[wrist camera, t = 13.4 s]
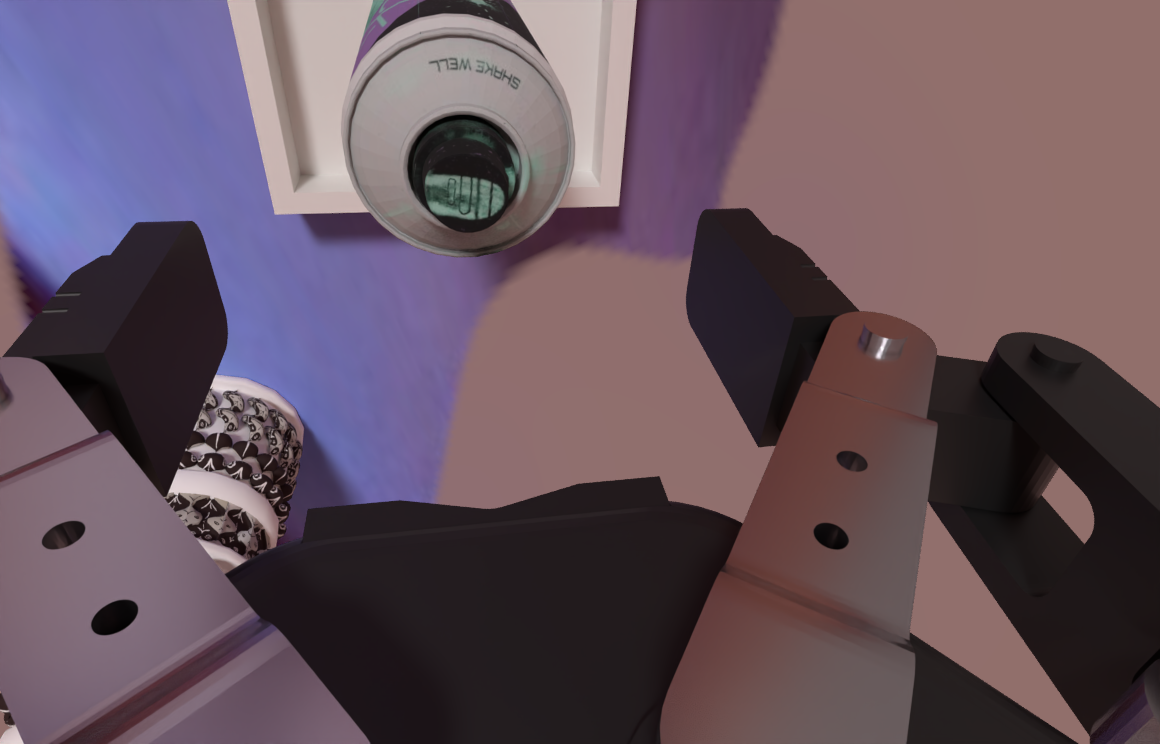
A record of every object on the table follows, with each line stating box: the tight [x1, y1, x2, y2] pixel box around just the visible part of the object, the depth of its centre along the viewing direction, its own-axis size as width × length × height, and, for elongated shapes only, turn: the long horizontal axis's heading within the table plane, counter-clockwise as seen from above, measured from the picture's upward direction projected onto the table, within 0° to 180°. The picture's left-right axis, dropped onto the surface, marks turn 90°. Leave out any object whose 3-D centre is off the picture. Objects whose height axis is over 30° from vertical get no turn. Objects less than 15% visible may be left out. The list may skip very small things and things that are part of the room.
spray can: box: [341, 0, 575, 257], centre depth 22 cm, size 6×6×20 cm
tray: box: [227, 0, 637, 214], centre depth 29 cm, size 16×16×3 cm
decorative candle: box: [0, 375, 304, 744], centre depth 32 cm, size 9×9×25 cm
